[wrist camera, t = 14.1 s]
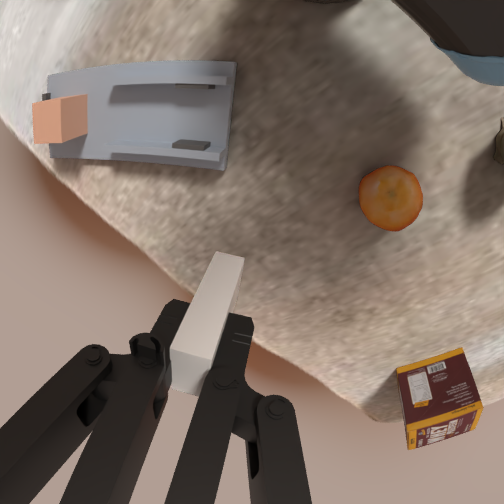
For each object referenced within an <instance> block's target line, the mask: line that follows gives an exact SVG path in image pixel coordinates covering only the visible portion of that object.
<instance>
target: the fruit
mask: <svg viewBox="0 0 504 504" xmlns="http://www.w3.org/2000/svg"><path fill="white" fill-rule="evenodd" d="M359 202H360V207H361V209H362V211H363V213H364V214H365V216H366V217H367V219H368V220H369V221H370V222H371V223H373V224H374V225H376V226H378V227H380V228H382V229H385V230H388V231H400V230H402V229H404V228H405V227H407V226H409V225H410V224H412V223H413V222H414V221H415V219H416V218H417V217H418V215H419V213H420V211H421V209H422V205H423V194H422V191H421V187H420V185H419V182H418V180H417V178H416V177H415V175H414V174H413V173H411V172H409V171H407V170H405V169H403V168H400V167H398V166H389V165H387V166H384V167H381V168H378V169H376V170H375V171H373V172H371V173H369V174H368V175H366V176H365V177H363V179H362V180H361V182H360V185H359Z"/></svg>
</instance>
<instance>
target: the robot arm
mask: <svg viewBox="0 0 504 504" xmlns="http://www.w3.org/2000/svg"><path fill="white" fill-rule="evenodd" d="M305 1H310V2H316V3H336V2H342V1H346V0H305ZM391 1H392V2H393V3H394V4H396V5H397V6H398V7H399V8H400V9H401V10H402V11H403V12H405V13H406V14H407V15H408V16H409V17H410V18H411V19H412V20H413V21H414V22H415V23H416V24H417V25H418V26H419V27H420V28H421V29H422V30H423V31H424V32H425V33H426V34H427V35H428V36H429V37H430V40H431V42H432V43H433V44H434V45H435V46H436V47H437V48H438V49H439V50H441V51H442V52H444V53H445V54H446V55H447V56H448V57H449V58H450V59H451V60H452V61H453V63H454V64H455V65H456V66H457V67H458V68H459V69H460V70H461V71H462V72H463V73H464V74H465V75H467V76H469V77H471V78H472V79H474V80H476V81H478V82H480V83H483V84H488V85H495V86H504V0H391ZM244 261H245V258H244V257H240V256H235V255H231V254H227V253H222V252H218V251H216V252H215V254H214V256H213V258H212V260H211V262H210V264H209V266H208V268H207V270H206V273H205V275H204V277H203V279H202V281H201V283H200V285H199V287H198V289H197V291H196V293H195V295H194V297H193V299H192V302H191V303H187V302H184V301H180V300H176V299H173V300H172V301H170V302H169V303H168V304H166V305H165V307H164V308H163V310H162V312H161V315H160V316H159V318H158V319H157V322H156V323H155V325H154V326H153V328H152V330H151V332H150V333H140V334H138V335H136V336H133V337H132V338H131V340H130V341H129V344H130V349H131V354H126V355H120V354H109V352H108V350H107V349H106V348H105V347H103V346H101V345H96V344H92V345H88V346H86V347H84V348H83V349H81V350H80V351H79V352H78V353H77V354H76V355H75V356H74V357H73V358H72V359H71V360H70V361H68V363H66V364H65V365H64V366H63V367H62V368H61V369H60V370H59V371H58V372H57V373H56V374H55V375H54V376H53V377H52V378H51V379H50V380H49V381H48V382H46V383H45V384H44V386H42V387H41V388H40V389H39V391H37V392H36V393H35V394H34V395H33V396H32V397H31V398H30V399H29V400H28V401H27V402H26V403H25V404H24V405H23V406H22V407H21V408H20V409H19V410H18V411H17V412H16V413H15V414H14V415H13V416H12V417H11V418H10V419H9V420H8V421H7V422H6V423H5V424H4V425H3V426H2V427H1V428H0V504H29V503H30V502H31V501H32V500H33V499H34V498H35V496H36V495H37V494H38V493H39V492H40V490H41V489H42V488H43V487H44V486H45V485H46V483H47V482H48V481H49V480H50V479H51V478H52V477H53V476H54V474H55V473H56V472H57V471H58V469H60V468H61V466H62V465H63V464H64V463H65V462H66V461H67V459H68V458H69V457H70V456H71V455H72V454H73V452H74V451H75V450H76V449H77V448H78V447H79V446H80V444H81V443H82V442H83V441H84V440H85V439H86V437H87V436H88V435H89V434H90V433H91V432H92V433H91V435H90V437H89V439H88V441H87V443H86V445H85V448H84V450H83V452H82V454H81V456H80V458H79V460H78V463H77V465H76V467H75V469H74V471H73V474H72V476H71V478H70V480H69V483H68V485H67V487H66V489H65V492H64V494H63V497H62V499H61V501H60V503H59V504H129V501H130V499H131V496H132V493H133V490H134V487H135V485H136V482H137V479H138V477H139V474H140V471H141V468H142V466H143V463H144V461H145V458H146V455H147V452H148V450H149V447H150V444H151V442H152V439H153V436H154V434H155V431H156V429H157V426H158V423H159V421H160V418H161V416H162V413H163V410H164V408H165V405H166V403H167V400H168V390H169V388H170V385H171V386H172V389H174V390H178V391H181V392H184V393H188V394H192V395H195V396H199V399H198V402H197V404H196V408H195V411H194V414H193V417H192V420H191V423H190V426H189V429H188V432H187V435H186V438H185V441H184V444H183V448H182V451H181V454H180V457H179V460H178V463H177V466H176V469H175V472H174V475H173V479H172V482H171V485H170V488H169V491H168V494H167V497H166V500H165V504H214V502H215V498H216V493H217V490H218V486H219V482H220V478H221V474H222V470H223V465H224V461H225V457H226V453H227V449H228V444H229V440H230V436H231V432H232V433H233V434H236V435H237V436H239V437H241V438H243V439H244V440H245V443H246V454H247V466H248V478H249V489H250V499H251V504H312V501H311V496H310V490H309V485H308V479H307V474H306V468H305V463H304V458H303V452H302V447H301V441H300V436H299V431H298V425H297V420H296V415H295V410H294V407H293V405H292V403H291V402H290V401H289V400H288V399H286V398H284V397H282V396H279V395H270V396H266V397H265V396H263V395H261V394H259V393H257V392H255V391H254V390H253V389H251V388H250V387H249V386H248V384H247V382H246V381H245V377H244V374H245V368H246V363H247V358H248V354H249V349H250V345H251V340H252V336H253V331H254V324H253V321H252V318H251V317H246V316H242V315H238V314H234V313H233V312H234V308H235V305H236V302H237V298H238V293H239V287H240V282H241V277H242V271H243V266H244Z"/></svg>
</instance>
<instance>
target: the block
mask: <svg viewBox="0 0 504 504" xmlns="http://www.w3.org/2000/svg"><path fill="white" fill-rule="evenodd" d="M87 101H88V94H83V95H74V96H66V97H59V98H54V99H49V100H45V101H41V102H36V103H32V111H33V133H34V144H42V143H63V142H66V141H68V140H71V139H73V138H76V137H79V136H82V135H84V134H87V133H88V118H87Z"/></svg>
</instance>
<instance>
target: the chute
mask: <svg viewBox="0 0 504 504" xmlns="http://www.w3.org/2000/svg"><path fill="white" fill-rule="evenodd" d="M236 67H237V63H236V62H228V61H201V60H177V61H150V62H135V63H124V64H114V65H106V66H98V67H91V68H85V69H78V70H73V71H67V72H62V73H57V74H52V75H48V88H47V93H46V94H42V101H45V100H49V99H54V98H59V97H66V96H74V95H83V94H88V101H87V118H88V133H87V134H84V135H82V136H79V137H76V138H73V139H71V140H68V141H66V142H63V143H49V149H50V158H80V159H102V160H119V161H134V162H147V163H158V164H169V165H179V166H189V167H198V168H206V169H214V170H222V171H224V170H225V169H226V168H227V157H228V146H229V135H230V124H231V114H232V104H233V94H234V85H235V76H236Z"/></svg>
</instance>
